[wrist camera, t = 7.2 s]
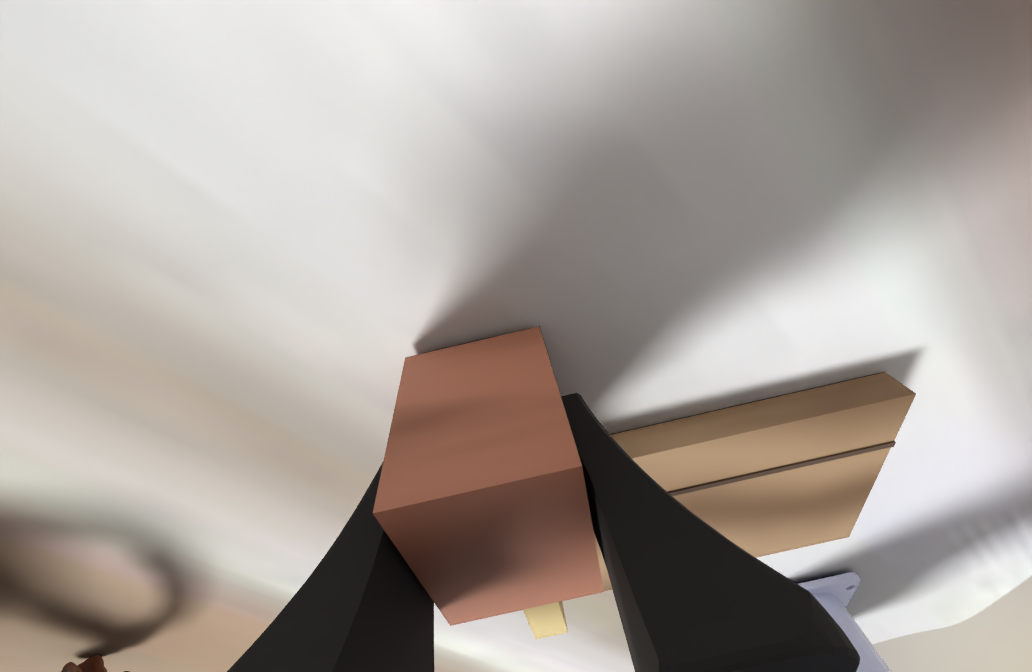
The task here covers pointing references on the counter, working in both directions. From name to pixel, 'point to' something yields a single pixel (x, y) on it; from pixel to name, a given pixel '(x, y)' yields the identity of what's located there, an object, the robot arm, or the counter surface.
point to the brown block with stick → (489, 484)
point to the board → (776, 462)
